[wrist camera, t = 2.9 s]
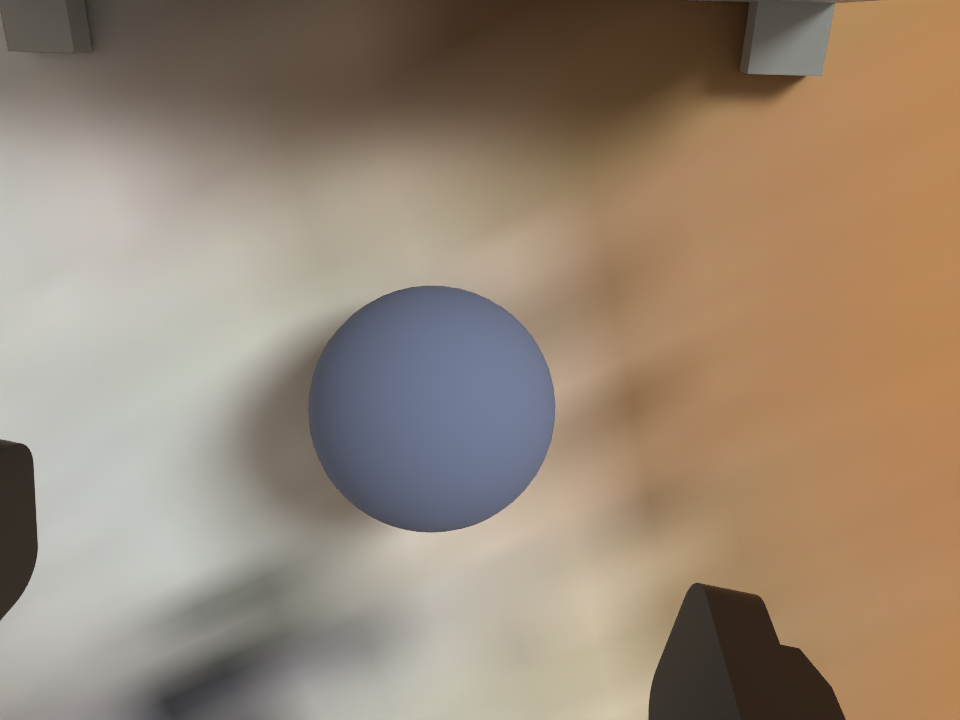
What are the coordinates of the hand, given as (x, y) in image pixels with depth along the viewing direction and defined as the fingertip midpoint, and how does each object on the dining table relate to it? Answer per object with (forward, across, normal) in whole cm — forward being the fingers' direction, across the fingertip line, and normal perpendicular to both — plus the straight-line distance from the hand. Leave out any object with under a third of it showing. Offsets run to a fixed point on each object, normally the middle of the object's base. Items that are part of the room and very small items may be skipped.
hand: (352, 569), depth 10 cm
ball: (+7, 0, 0) cm, 7 cm away
